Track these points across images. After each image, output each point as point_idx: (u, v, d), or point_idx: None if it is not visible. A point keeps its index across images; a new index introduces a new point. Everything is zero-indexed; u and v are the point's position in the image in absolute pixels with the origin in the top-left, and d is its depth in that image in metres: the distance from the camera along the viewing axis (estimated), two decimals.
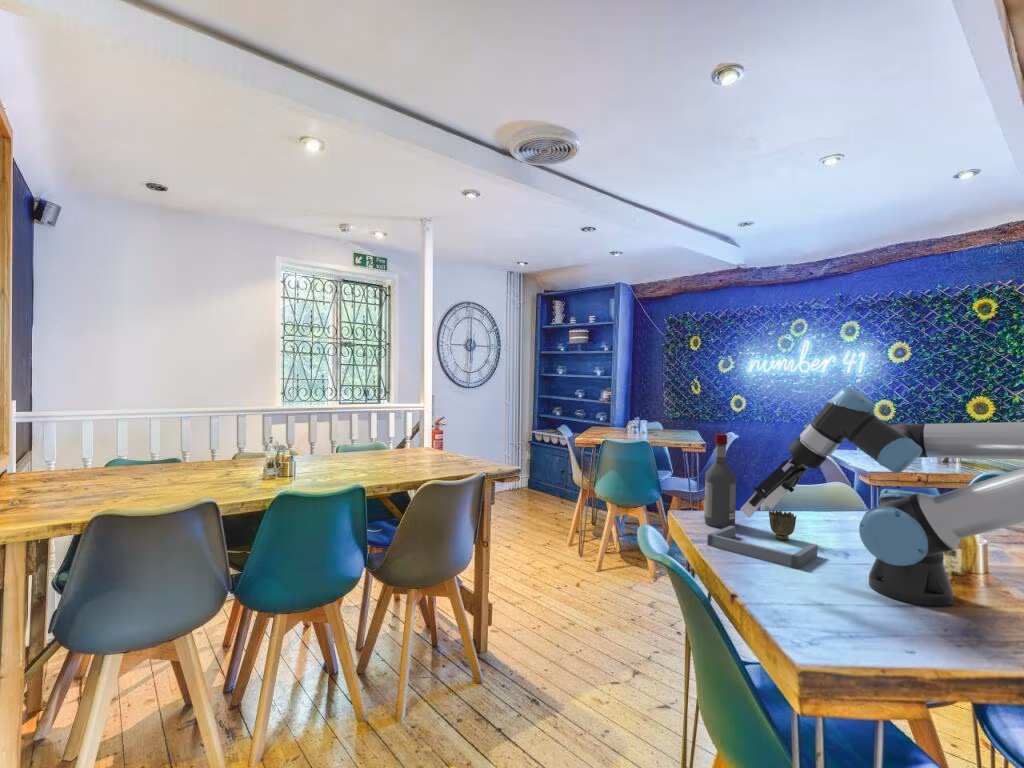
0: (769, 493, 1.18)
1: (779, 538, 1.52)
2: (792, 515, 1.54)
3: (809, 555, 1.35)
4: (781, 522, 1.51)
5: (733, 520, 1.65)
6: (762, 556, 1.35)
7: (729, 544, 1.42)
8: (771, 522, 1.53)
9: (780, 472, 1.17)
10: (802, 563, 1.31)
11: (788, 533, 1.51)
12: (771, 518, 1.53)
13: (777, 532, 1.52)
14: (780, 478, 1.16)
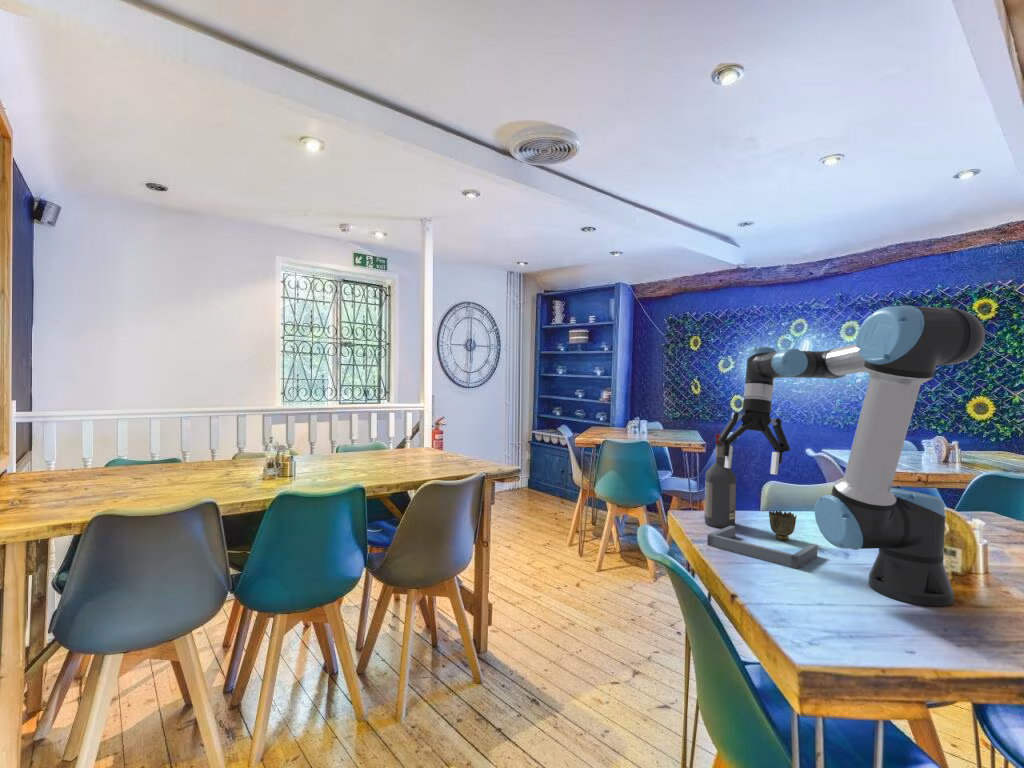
0: (729, 439, 1.48)
1: (779, 538, 1.52)
2: (792, 515, 1.54)
3: (809, 555, 1.35)
4: (781, 522, 1.51)
5: (733, 520, 1.65)
6: (762, 556, 1.35)
7: (729, 544, 1.42)
8: (771, 522, 1.53)
9: (730, 421, 1.49)
10: (802, 563, 1.31)
11: (788, 533, 1.51)
12: (771, 518, 1.53)
13: (777, 532, 1.52)
14: (730, 423, 1.48)
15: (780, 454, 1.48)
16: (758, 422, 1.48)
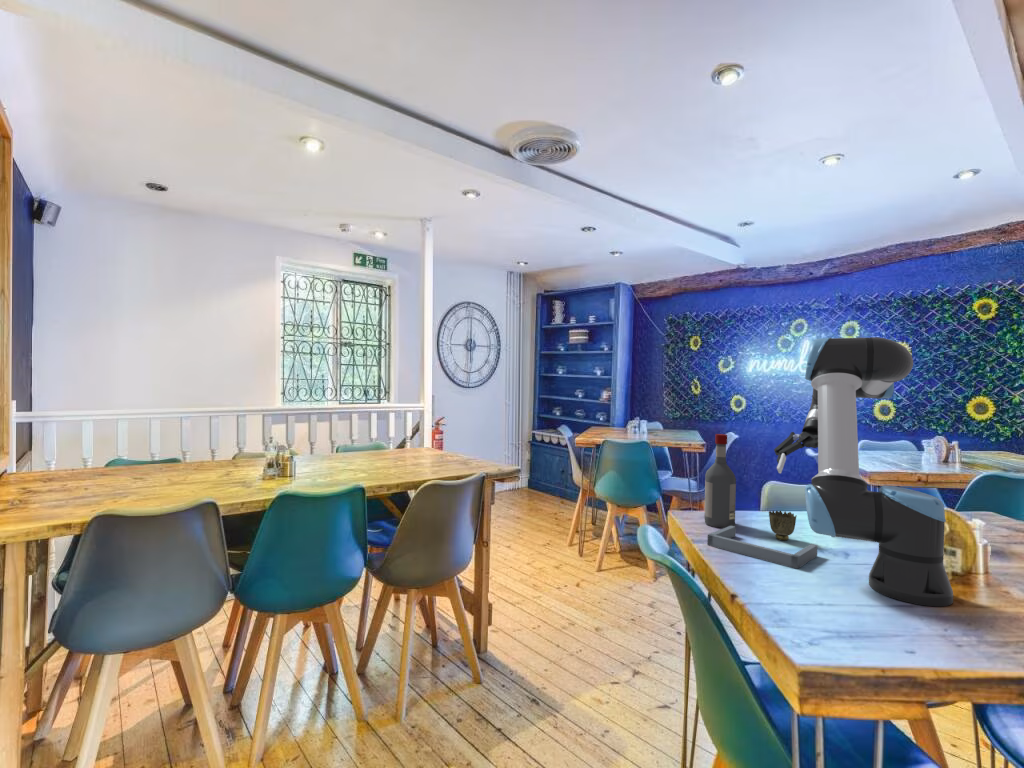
0: (782, 449, 1.73)
1: (779, 538, 1.52)
2: (792, 515, 1.54)
3: (809, 555, 1.35)
4: (781, 522, 1.51)
5: (733, 520, 1.65)
6: (762, 556, 1.35)
7: (729, 544, 1.42)
8: (771, 522, 1.53)
9: None
10: (802, 563, 1.31)
11: (788, 533, 1.51)
12: (771, 518, 1.53)
13: (777, 532, 1.52)
14: None
15: None
16: (812, 438, 1.70)
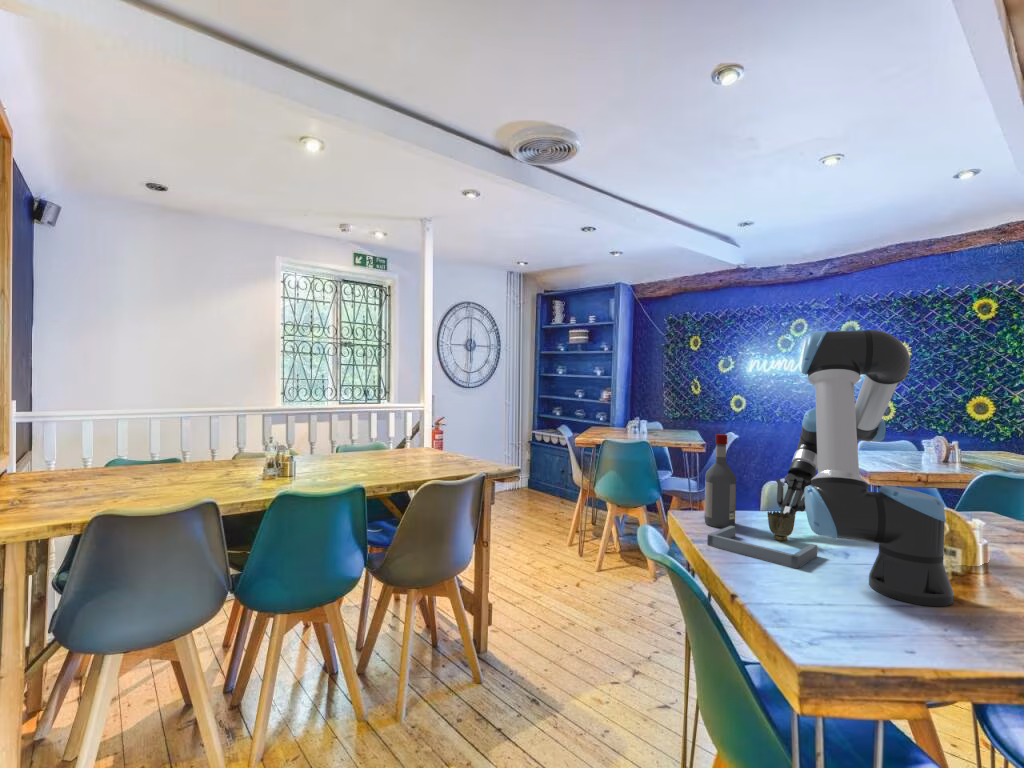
0: (783, 501, 1.61)
1: (778, 539, 1.51)
2: (790, 515, 1.54)
3: (809, 555, 1.35)
4: (781, 523, 1.50)
5: (733, 520, 1.65)
6: (762, 556, 1.35)
7: (729, 544, 1.42)
8: (770, 523, 1.52)
9: None
10: (802, 563, 1.31)
11: (788, 534, 1.50)
12: (770, 519, 1.52)
13: (777, 533, 1.51)
14: None
15: (793, 509, 1.57)
16: (798, 479, 1.63)
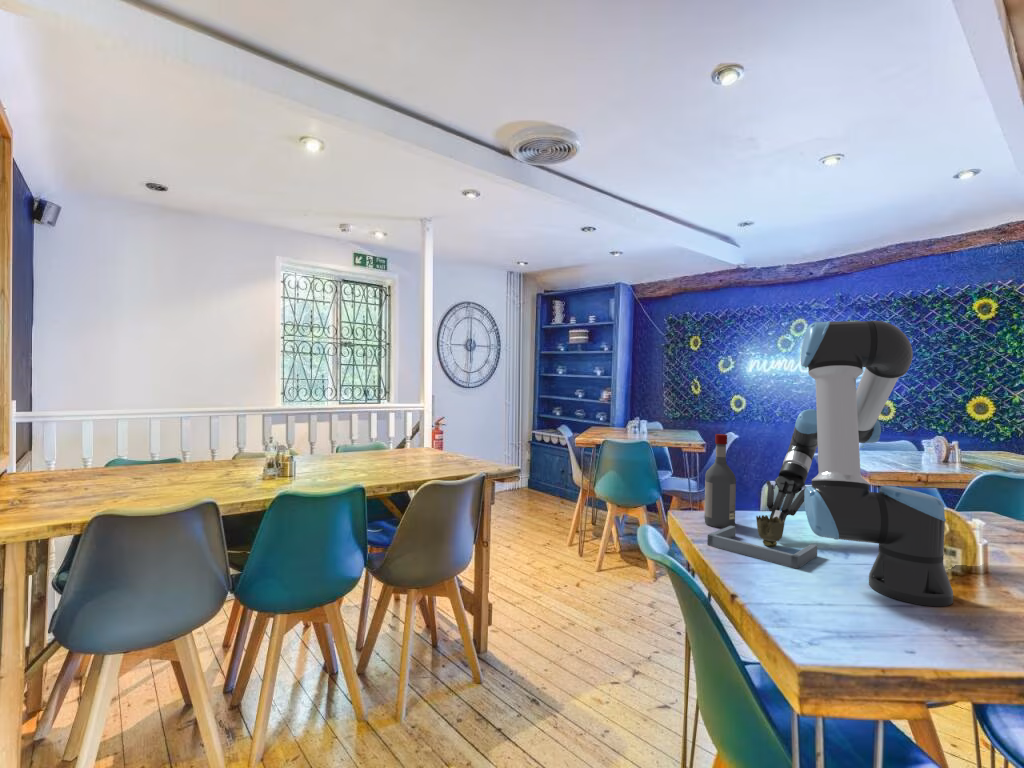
0: None
1: (768, 544, 1.46)
2: (779, 520, 1.48)
3: (809, 555, 1.35)
4: (770, 528, 1.44)
5: (733, 520, 1.65)
6: (762, 556, 1.35)
7: (729, 544, 1.42)
8: (759, 528, 1.47)
9: None
10: (802, 563, 1.31)
11: (777, 539, 1.45)
12: (760, 524, 1.46)
13: (766, 538, 1.45)
14: None
15: (783, 514, 1.52)
16: (789, 482, 1.58)
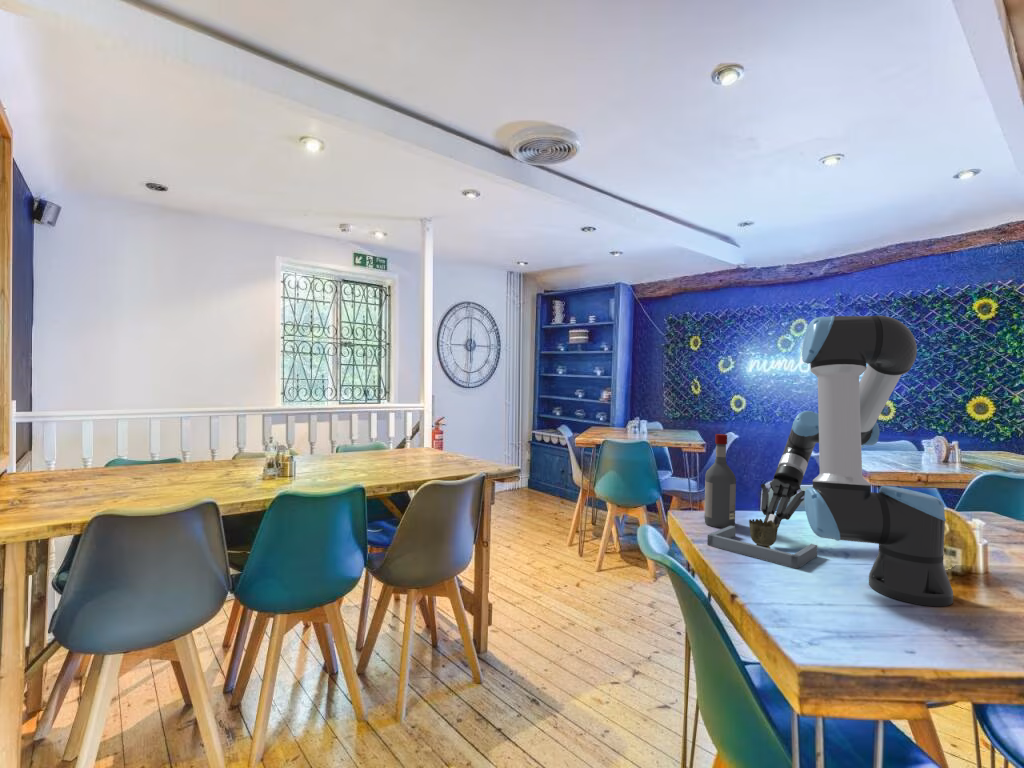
0: (768, 508, 1.51)
1: None
2: (773, 524, 1.44)
3: (809, 555, 1.35)
4: (762, 532, 1.40)
5: (733, 520, 1.65)
6: (762, 556, 1.35)
7: (729, 544, 1.42)
8: (752, 532, 1.43)
9: None
10: (802, 563, 1.31)
11: (770, 543, 1.40)
12: (752, 527, 1.42)
13: (758, 542, 1.41)
14: None
15: (777, 518, 1.48)
16: (784, 485, 1.54)
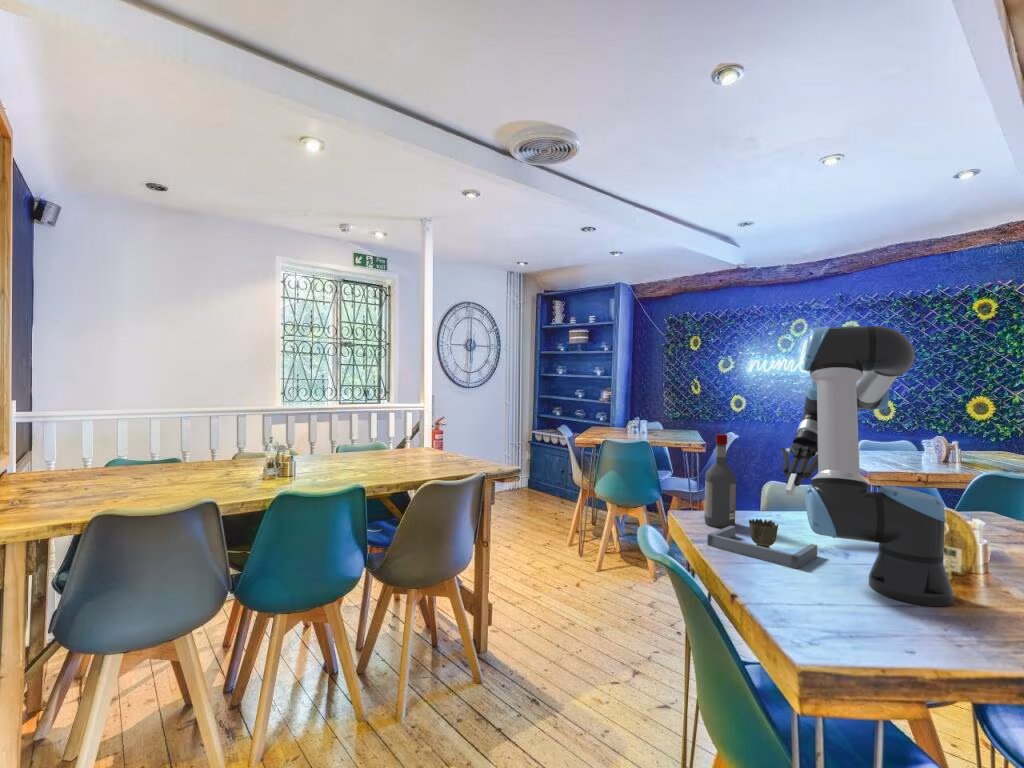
0: None
1: None
2: (773, 524, 1.44)
3: (809, 555, 1.35)
4: (762, 532, 1.40)
5: (733, 520, 1.65)
6: (762, 556, 1.35)
7: (729, 544, 1.42)
8: (752, 532, 1.43)
9: None
10: (802, 563, 1.31)
11: (770, 543, 1.40)
12: (752, 527, 1.42)
13: (758, 542, 1.41)
14: None
15: (798, 476, 1.59)
16: (804, 448, 1.65)
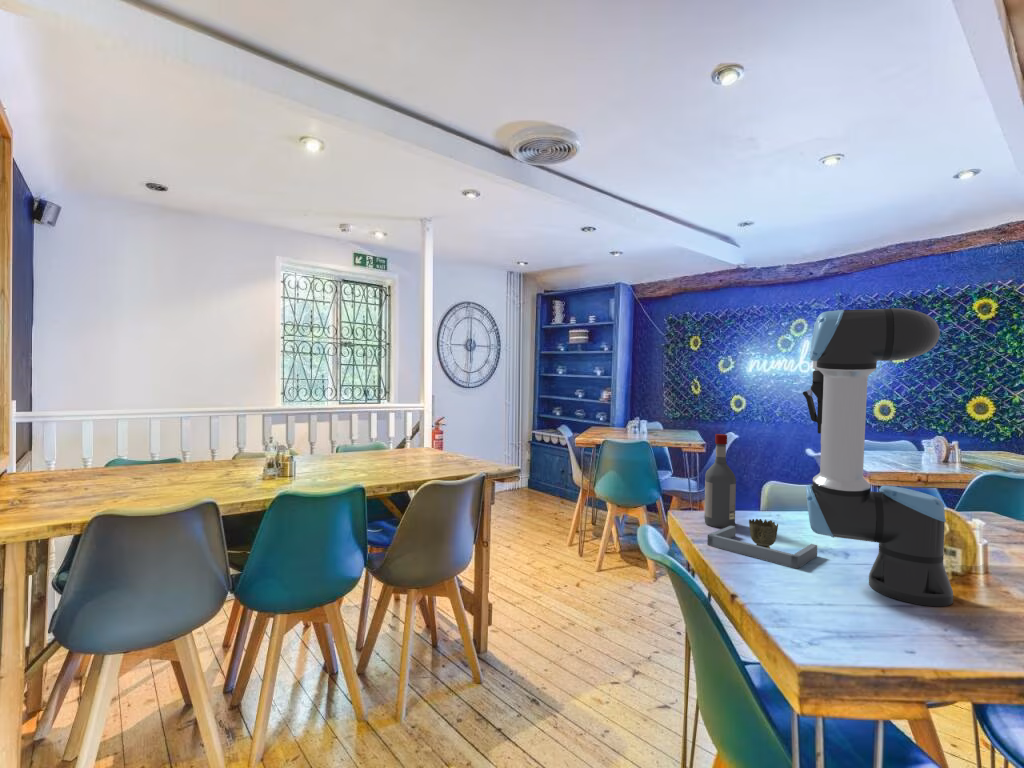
0: (817, 418, 1.61)
1: None
2: (773, 524, 1.44)
3: (809, 555, 1.35)
4: (762, 532, 1.40)
5: (733, 520, 1.65)
6: (762, 556, 1.35)
7: (729, 544, 1.42)
8: (752, 532, 1.43)
9: None
10: (802, 563, 1.31)
11: (770, 543, 1.40)
12: (752, 527, 1.42)
13: (758, 542, 1.41)
14: None
15: None
16: None
